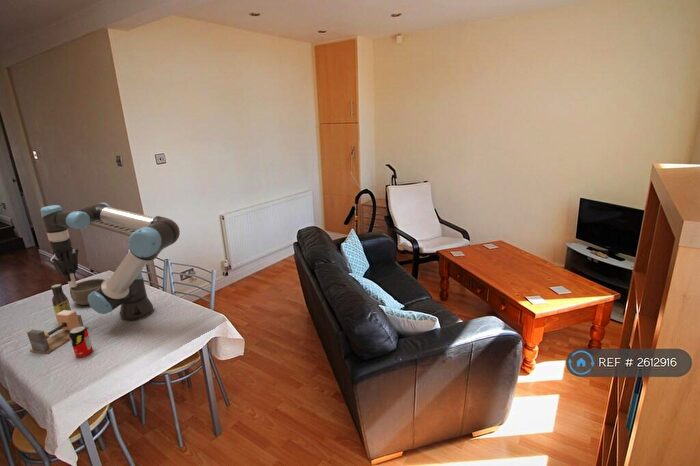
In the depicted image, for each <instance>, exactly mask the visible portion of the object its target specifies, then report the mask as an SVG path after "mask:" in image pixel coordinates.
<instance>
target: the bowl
mask: <svg viewBox="0 0 700 466" xmlns="http://www.w3.org/2000/svg"><path fill="white" fill-rule="evenodd" d="M105 280H106V279H104V278H95V279H94V278H93V279H87V280H83V281H80V282H76V284H77V286H76V287H69V294H70V298H71V299H72V301H73V302H74V303H76V304H78V305H81V306H90V305H89V302H88V295H89V294H90V293H92V292H93V291H95V290H97V289H98V288H99V287H100V285H101V284H102V283H103V281H105Z"/></svg>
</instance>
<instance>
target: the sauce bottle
mask: <svg viewBox="0 0 700 466" xmlns="http://www.w3.org/2000/svg"><path fill="white" fill-rule="evenodd" d="M50 288H51V290H52V294H53V296H52V299H51V302H52V307H53V311H54V314H55V316H56V314H58V313H59V312H61V311H63V310H68V311H72V309H71V306H70V305H71V304H70V302H69V301H70V300H69V298H68V296H67V295H66V294H65V293H64V291H63V286H62V284H61V283H58V284H57V283H56V284H53V285H51V287H50Z"/></svg>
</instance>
